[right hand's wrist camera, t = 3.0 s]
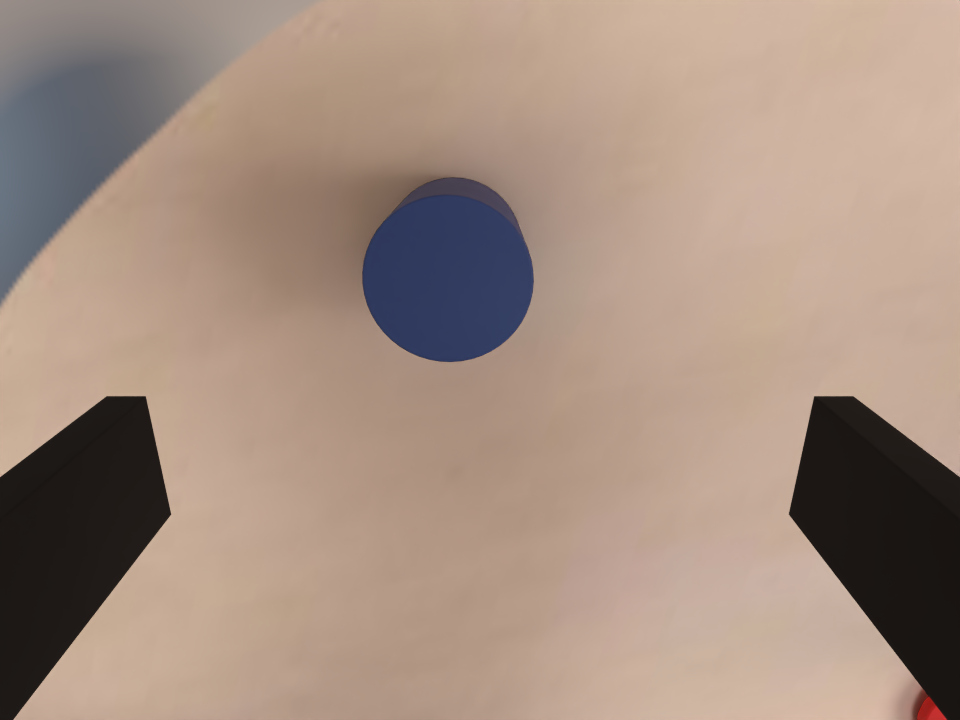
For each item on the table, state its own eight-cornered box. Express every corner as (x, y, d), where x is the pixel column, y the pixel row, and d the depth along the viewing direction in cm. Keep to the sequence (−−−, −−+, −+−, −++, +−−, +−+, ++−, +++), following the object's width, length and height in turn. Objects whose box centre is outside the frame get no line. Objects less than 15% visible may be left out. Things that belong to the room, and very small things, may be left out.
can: (545, 270, 31) (564, 311, 24) (433, 334, 32) (421, 390, 25) (478, 150, 29) (478, 159, 22) (361, 223, 30) (327, 252, 23)
